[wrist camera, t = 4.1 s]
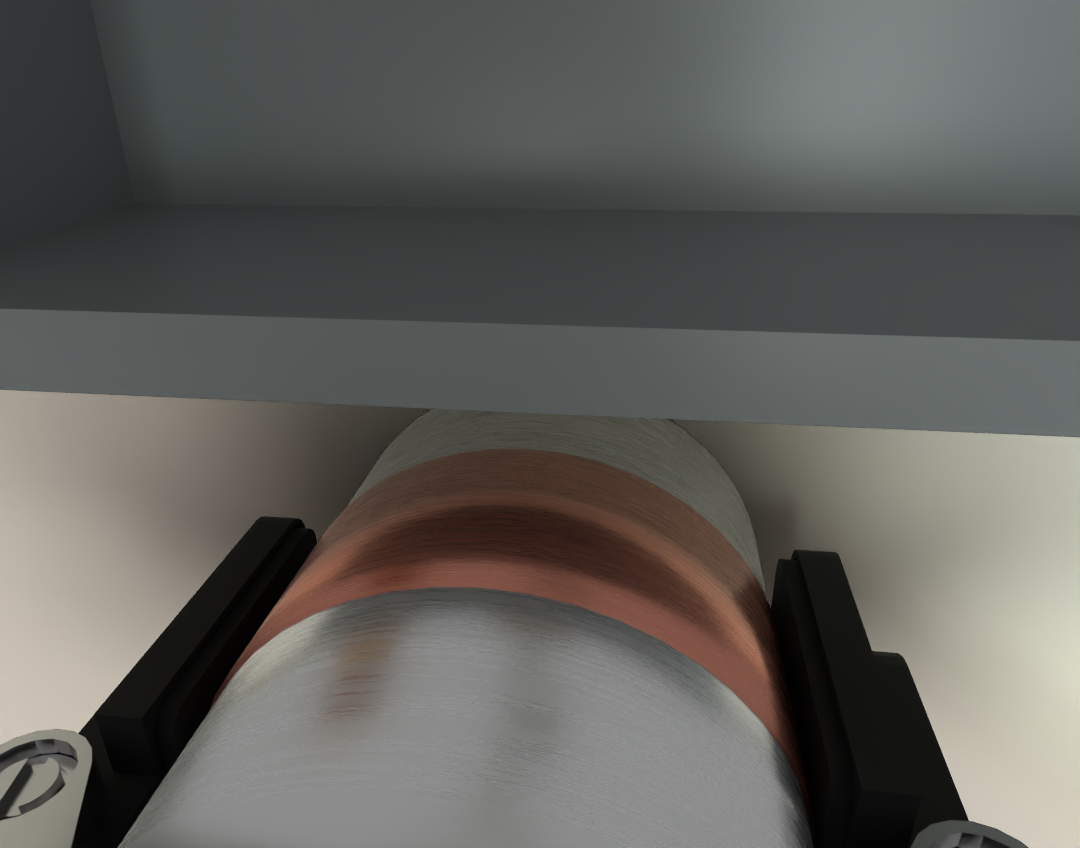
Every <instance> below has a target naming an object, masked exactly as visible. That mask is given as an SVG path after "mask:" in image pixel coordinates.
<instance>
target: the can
mask: <svg viewBox="0 0 1080 848" xmlns="http://www.w3.org/2000/svg"><path fill="white" fill-rule="evenodd" d="M814 837H815V829H814V819H813V810H812V805H811V800H810V795H809V790H808V785H807V780H806V775H805V770H804V765H803V760H802V754H801V749H800V744H799V739H798V734H797V729H796V724H795V719H794V714H793V709H792V704H791V699H790V694H789V689H788V683H787V678H786V673H785V668H784V663H783V658H782V653H781V648H780V643H779V638H778V633H777V629H776V626H775V622H774V619H773V615H772V612H771V609H770V606H769V603H768V601H767V597H766V591H765V586H764V581H763V576H762V570H761V565H760V560H759V555H758V549H757V544H756V539H755V535H754V531H753V528H752V524H751V521H750V517H749V514H748V511H747V509H746V507H745V505H744V503H743V500H742V498H741V496H740V494H739V492H738V490H737V488H736V487H735V485H734V484H733V482H732V481H731V479H730V478H729V476H728V475H727V473H726V472H725V470H724V469H723V467H722V466H721V465H720V464H719V463H718V462H717V461H716V459H715V458H714V457H713V456H712V455H711V454H710V453H709V451H708V450H707V449H706V448H705V447H704V446H702V445H701V444H700V443H699V442H698V441H697V440H696V439H694V438H693V437H692V436H691V435H690V434H689V433H688V432H686V431H685V430H684V429H682V428H681V427H679V426H678V425H676V424H675V423H673V422H672V421H670V420H669V419H655V418H632V417H610V416H587V415H564V414H542V413H519V412H496V411H473V410H451V409H432V410H431V411H429V412H427V413H426V414H424V415H423V416H421V417H419V418H418V419H417V420H415V421H414V422H413V423H412V424H411V425H409V426H408V427H407V428H406V429H405V430H403V431H402V432H401V433H400V434H399V435H398V436H397V437H396V438H395V439H394V441H393V442H392V443H391V444H390V445H389V446H388V447H387V448H386V450H385V451H384V452H383V453H382V455H381V456H380V458H379V459H378V461H377V462H376V464H375V465H374V467H373V468H372V470H371V471H370V473H369V474H368V476H367V477H366V479H365V480H364V482H363V483H362V485H361V486H360V488H359V489H358V491H357V492H356V494H355V495H354V497H353V498H352V500H351V501H350V503H349V504H348V506H347V507H346V508H345V509H344V510H343V511H342V512H341V514H340V515H339V516H338V517H337V518H336V519H335V520H334V521H333V523H332V524H331V525H330V526H329V527H328V528H327V530H326V531H325V533H324V534H323V536H322V537H321V538H320V540H319V541H318V543H317V544H316V546H315V547H314V549H313V550H312V552H311V553H310V555H309V556H308V558H307V559H306V560H305V562H304V563H303V565H302V566H301V568H300V569H299V571H298V572H297V574H296V575H295V577H294V578H293V580H292V581H291V583H290V584H289V585H288V587H287V588H286V590H285V591H284V593H283V594H282V596H281V597H280V599H279V600H278V602H277V603H276V605H275V606H274V607H273V609H272V610H271V612H270V613H269V615H268V616H267V618H266V619H265V621H264V622H263V624H262V625H261V627H260V628H259V629H258V631H257V632H256V634H255V635H254V637H253V638H252V640H251V641H250V643H249V644H248V646H247V647H246V649H245V650H244V651H243V653H242V654H241V656H240V657H239V659H238V660H237V662H236V663H235V665H234V666H233V668H232V669H231V671H230V672H229V674H228V675H227V677H226V679H225V680H224V682H223V683H222V685H221V686H220V688H219V690H218V691H217V693H216V694H215V697H214V699H213V702H212V704H211V707H210V710H209V712H208V714H207V715H206V717H205V718H204V720H203V721H202V723H201V724H200V726H199V727H198V729H197V730H196V732H195V733H194V735H193V736H192V738H191V739H190V741H189V742H188V744H187V745H186V747H185V748H184V750H183V751H182V753H181V754H180V756H179V757H178V759H177V760H176V762H175V763H174V765H173V766H172V768H171V769H170V771H169V772H168V774H167V775H166V777H165V778H164V779H163V781H162V782H161V784H160V785H159V787H158V788H157V790H156V791H155V793H154V794H153V796H152V797H151V799H150V800H149V802H148V803H147V805H146V806H145V808H144V809H143V811H142V812H141V814H140V815H139V817H138V818H137V820H136V821H135V823H134V824H133V826H132V827H131V829H130V830H129V832H128V833H127V835H126V836H125V838H124V839H123V841H122V842H121V844H120V845H119V846H118V848H814V844H813V842H814Z"/></svg>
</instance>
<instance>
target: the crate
mask: <svg viewBox="0 0 1080 848" xmlns="http://www.w3.org/2000/svg"><path fill="white" fill-rule="evenodd" d="M0 390H19V391H42V392H65V393H87V394H110V395H133V396H155V397H178V398H201V399H224V400H246V401H269V402H292V403H314V404H337V405H360V406H383V407H405V408H428V409H451V410H473V411H496V412H519V413H542V414H564V415H587V416H610V417H632V418H655V419H678V420H701V421H723V422H746V423H769V424H791V425H814V426H837V427H860V428H882V429H905V430H928V431H950V432H973V433H996V434H1019V435H1041V436H1064V437H1080V0H0Z"/></svg>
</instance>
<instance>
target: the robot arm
mask: <svg viewBox="0 0 1080 848" xmlns="http://www.w3.org/2000/svg"><path fill="white" fill-rule="evenodd" d="M316 544H317V539H316V535H315V533H314V531H313V530H312V529H305V525H304V523H303V522H302V520H300V519H299V518H284V517H268V516H264V517H260V518H259V519H258V520H257V521H256V522H255V523H254V524H253V525H252V527H251V528H250V529H249V530H248V531H247V533H246V534H245V535H244V536H243V537H242V539H241V540H240V541H239V542H238V543H237V545H236V546H235V547H234V548H233V549H232V551H231V552H230V553H229V554H228V555H227V556H226V558H225V559H224V560H223V561H222V562H221V564H220V565H219V566H218V567H217V568H216V570H215V571H214V572H213V573H212V574H211V576H210V577H209V578H208V579H207V580H206V581H205V583H204V584H203V585H202V586H201V587H200V589H199V590H198V591H197V592H196V593H195V595H194V596H193V597H192V598H191V599H190V601H189V602H188V603H187V604H186V605H185V607H184V608H183V609H182V610H181V611H180V612H179V614H178V615H177V616H176V617H175V618H174V620H173V621H172V622H171V623H170V624H169V626H168V627H167V628H166V629H165V630H164V632H163V633H162V634H161V635H160V636H159V638H158V639H157V640H156V641H155V642H154V643H153V645H152V646H151V647H150V648H149V649H148V651H147V652H146V653H145V654H144V655H143V657H142V658H141V659H140V660H139V661H138V663H137V664H136V665H135V666H134V667H133V669H132V670H131V671H130V672H129V673H128V674H127V676H126V677H125V678H124V679H123V680H122V682H121V683H120V684H119V685H118V686H117V688H116V689H115V690H114V691H113V692H112V694H111V695H110V696H109V697H108V698H107V699H106V701H105V702H104V703H103V704H102V705H101V707H100V708H99V709H98V710H97V711H96V713H95V714H94V715H93V717H92V718H91V719H90V720H89V721H88V723H87V724H86V725H85V726H84V727H83V729H82V730H81V731H80V732H79V733H76V732H74V731H69V730H62V729H52V730H43V731H36V732H33V733H29V734H26V735H23V736H20V737H16V738H14V739H12V740H10V741H8V742H6V743H4V744H2V745H0V848H118V846H119V845H120V844H121V842H122V841H123V839H124V838H125V836H126V835H127V833H128V832H129V830H130V829H131V827H132V826H133V824H134V823H135V821H136V820H137V818H138V817H139V815H140V814H141V812H142V811H143V809H144V808H145V806H146V805H147V803H148V802H149V800H150V799H151V797H152V796H153V794H154V793H155V791H156V790H157V788H158V787H159V785H160V784H161V782H162V781H163V779H164V778H165V777H166V775H167V774H168V772H169V771H170V769H171V768H172V766H173V765H174V763H175V762H176V760H177V759H178V757H179V756H180V754H181V753H182V751H183V750H184V748H185V747H186V745H187V744H188V742H189V741H190V739H191V738H192V736H193V735H194V733H195V732H196V730H197V729H198V727H199V726H200V724H201V723H202V721H203V720H204V718H205V717H206V715H207V714H208V712H209V710H210V707H211V704H212V702H213V699H214V697H215V694H216V693H217V691H218V690H219V688H220V686H221V685H222V683H223V682H224V680H225V679H226V677H227V675H228V674H229V672H230V671H231V669H232V668H233V666H234V665H235V663H236V662H237V660H238V659H239V657H240V656H241V654H242V653H243V651H244V650H245V649H246V647H247V646H248V644H249V643H250V641H251V640H252V638H253V637H254V635H255V634H256V632H257V631H258V629H259V628H260V627H261V625H262V624H263V622H264V621H265V619H266V618H267V616H268V615H269V613H270V612H271V610H272V609H273V607H274V606H275V605H276V603H277V602H278V600H279V599H280V597H281V596H282V594H283V593H284V591H285V590H286V588H287V587H288V585H289V584H290V583H291V581H292V580H293V578H294V577H295V575H296V574H297V572H298V571H299V569H300V568H301V566H302V565H303V563H304V562H305V560H306V559H307V558H308V556H309V555H310V553H311V552H312V550H313V549H314V547H315V546H316ZM771 612H772V615H773V619H774V622H775V626H776V629H777V633H778V638H779V643H780V648H781V653H782V658H783V663H784V668H785V673H786V678H787V683H788V689H789V694H790V699H791V704H792V709H793V714H794V719H795V724H796V729H797V734H798V739H799V744H800V749H801V754H802V760H803V765H804V770H805V775H806V780H807V785H808V790H809V795H810V800H811V805H812V810H813V819H814V829H815V837H814V842H813V844H814V848H1028V847H1027V846H1026V845H1025V844H1023V843H1022V842H1021V841H1019V840H1017V839H1015V838H1013V837H1011V836H1009V835H1007V834H1006V833H1004V832H1002V831H1000V830H998V829H996V828H992V827H989V826H986V825H982V824H979V823H976V822H972V821H969V820H968V817H967V815H966V812H965V810H964V807H963V805H962V802H961V800H960V797H959V795H958V792H957V789H956V787H955V784H954V782H953V779H952V777H951V774H950V772H949V769H948V767H947V764H946V762H945V759H944V757H943V754H942V752H941V749H940V746H939V744H938V741H937V739H936V736H935V734H934V731H933V729H932V726H931V724H930V721H929V719H928V716H927V714H926V711H925V708H924V706H923V703H922V701H921V698H920V696H919V693H918V691H917V688H916V686H915V683H914V681H913V678H912V676H911V673H910V670H909V668H908V666H907V664H906V662H905V660H904V658H903V657H902V656H901V655H900V654H898V653H888V652H875V651H872V650H871V647H870V644H869V641H868V638H867V635H866V632H865V629H864V626H863V624H862V621H861V618H860V615H859V612H858V609H857V606H856V603H855V600H854V598H853V595H852V592H851V589H850V586H849V583H848V580H847V577H846V574H845V572H844V569H843V566H842V563H841V560H840V557H839V555H838V553H836V552H824V551H809V550H795V551H794V552H793V555H792V559H791V560H786V559H779V560H778V563H777V568H776V576H775V583H774V590H773V598H772V605H771Z"/></svg>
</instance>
